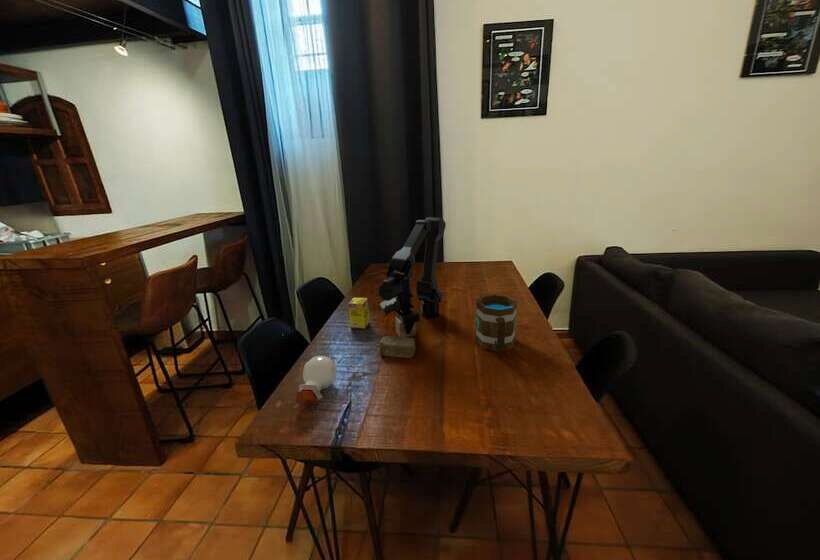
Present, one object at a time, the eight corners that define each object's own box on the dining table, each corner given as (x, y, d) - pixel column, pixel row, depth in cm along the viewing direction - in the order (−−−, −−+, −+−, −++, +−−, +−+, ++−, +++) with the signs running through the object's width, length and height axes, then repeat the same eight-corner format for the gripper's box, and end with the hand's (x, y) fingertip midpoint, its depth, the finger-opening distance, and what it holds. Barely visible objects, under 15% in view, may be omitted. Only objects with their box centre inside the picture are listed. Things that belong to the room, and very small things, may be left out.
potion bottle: (333, 378, 105) (315, 417, 92) (305, 363, 104) (283, 400, 90) (346, 359, 101) (330, 397, 88) (317, 343, 100) (296, 379, 86)
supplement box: (365, 330, 131) (362, 303, 128) (350, 329, 132) (347, 303, 129) (370, 323, 137) (367, 297, 133) (356, 322, 138) (353, 297, 134)
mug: (473, 331, 126) (474, 293, 121) (511, 332, 124) (513, 293, 119) (478, 362, 107) (479, 318, 102) (522, 362, 106) (526, 318, 101)
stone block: (384, 347, 119) (383, 334, 117) (416, 350, 116) (416, 337, 115) (379, 356, 113) (378, 343, 112) (413, 359, 111) (412, 345, 109)
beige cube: (411, 328, 131) (410, 313, 129) (416, 335, 125) (415, 320, 124) (396, 330, 129) (395, 316, 127) (400, 338, 124) (399, 323, 122)
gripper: (375, 285, 128) (379, 323, 133) (387, 304, 111) (390, 346, 117) (404, 281, 131) (406, 318, 136) (419, 298, 114) (421, 340, 119)
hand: (405, 330), depth 127 cm, fingers closed on beige cube, 6 cm apart
